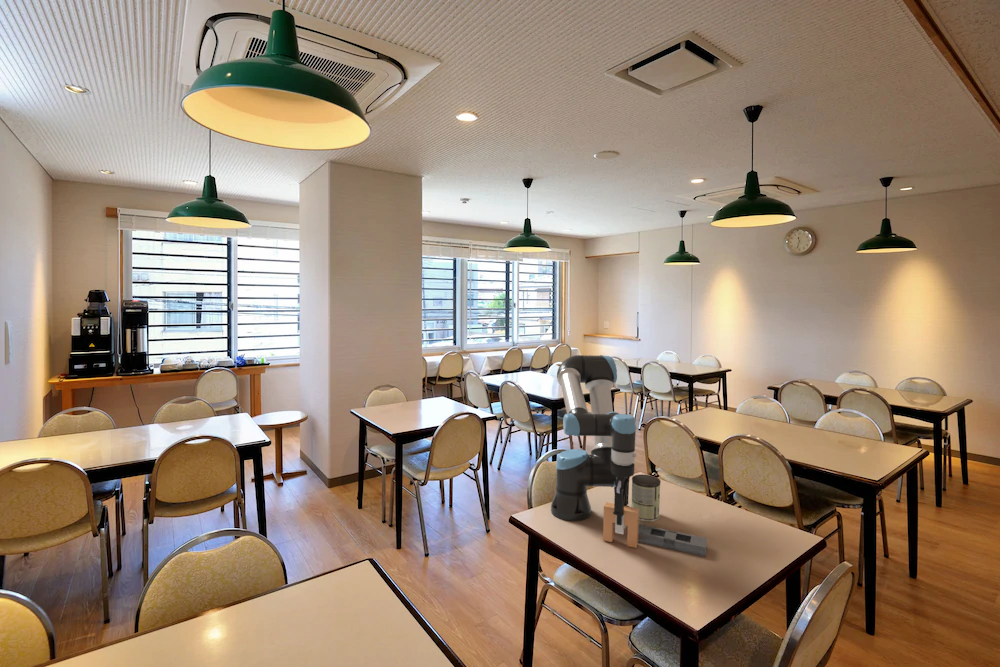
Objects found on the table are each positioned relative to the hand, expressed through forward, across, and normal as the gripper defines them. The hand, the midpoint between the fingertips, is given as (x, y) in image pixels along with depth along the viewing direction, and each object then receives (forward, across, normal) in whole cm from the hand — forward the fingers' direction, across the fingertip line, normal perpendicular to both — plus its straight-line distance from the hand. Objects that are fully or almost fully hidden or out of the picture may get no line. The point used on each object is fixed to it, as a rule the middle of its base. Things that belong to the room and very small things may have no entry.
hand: (620, 530), depth 159 cm
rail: (+4, +7, -15) cm, 17 cm away
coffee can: (+5, +25, -4) cm, 26 cm away
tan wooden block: (+4, 0, 0) cm, 4 cm away
